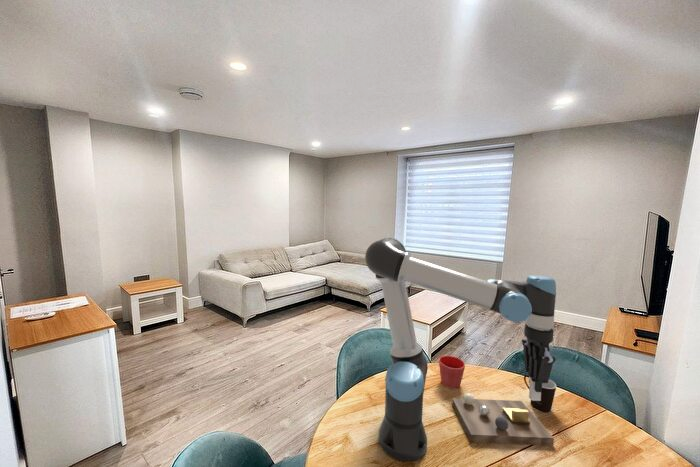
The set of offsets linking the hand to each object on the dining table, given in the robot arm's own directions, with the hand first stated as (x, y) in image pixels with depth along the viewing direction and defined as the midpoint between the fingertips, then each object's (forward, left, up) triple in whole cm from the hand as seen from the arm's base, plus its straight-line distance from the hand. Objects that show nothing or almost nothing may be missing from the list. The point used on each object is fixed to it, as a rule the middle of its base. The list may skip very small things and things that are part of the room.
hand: (534, 399), depth 89 cm
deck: (-6, +9, -15) cm, 19 cm away
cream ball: (-14, +15, -11) cm, 23 cm away
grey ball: (-8, +3, -11) cm, 14 cm away
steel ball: (-11, +9, -11) cm, 18 cm away
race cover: (0, +9, -12) cm, 15 cm away
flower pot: (-15, +32, -15) cm, 39 cm away
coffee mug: (+15, +20, -15) cm, 29 cm away
